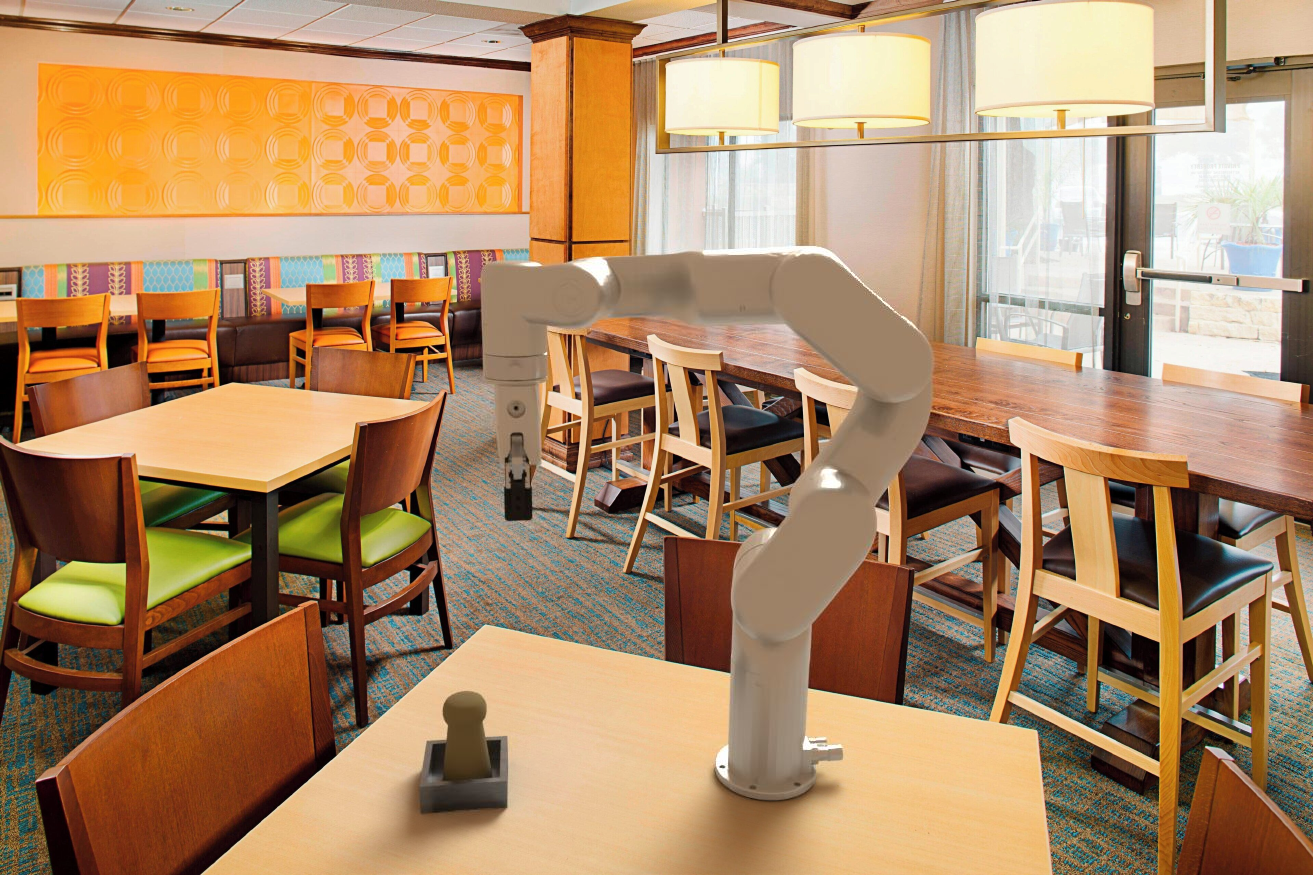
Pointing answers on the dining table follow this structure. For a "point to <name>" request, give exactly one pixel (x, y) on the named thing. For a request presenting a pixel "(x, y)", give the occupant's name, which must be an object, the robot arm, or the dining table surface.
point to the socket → (463, 781)
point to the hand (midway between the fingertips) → (518, 507)
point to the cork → (465, 737)
